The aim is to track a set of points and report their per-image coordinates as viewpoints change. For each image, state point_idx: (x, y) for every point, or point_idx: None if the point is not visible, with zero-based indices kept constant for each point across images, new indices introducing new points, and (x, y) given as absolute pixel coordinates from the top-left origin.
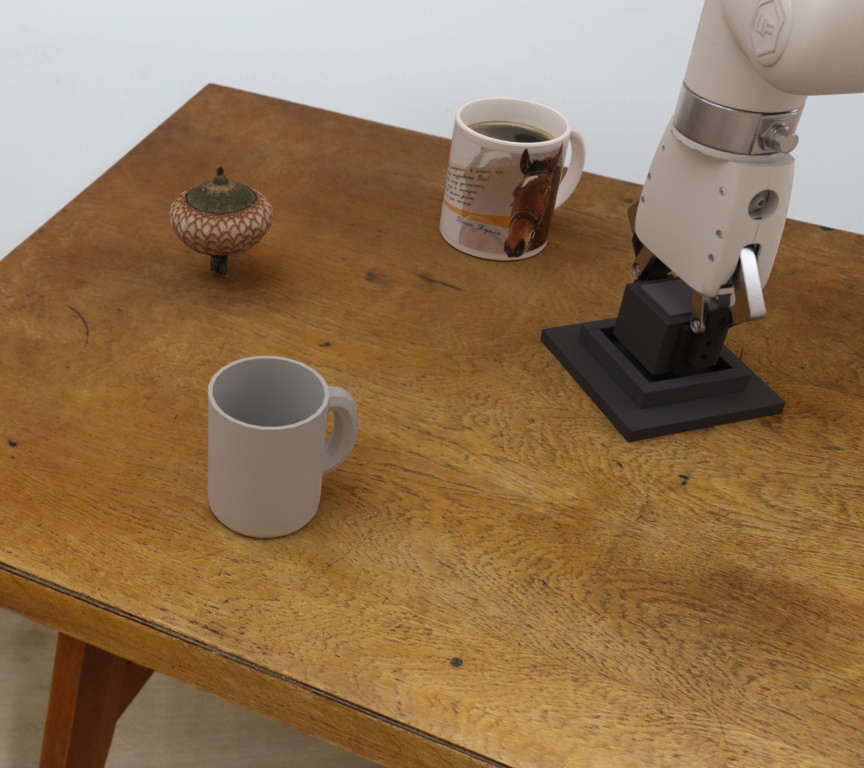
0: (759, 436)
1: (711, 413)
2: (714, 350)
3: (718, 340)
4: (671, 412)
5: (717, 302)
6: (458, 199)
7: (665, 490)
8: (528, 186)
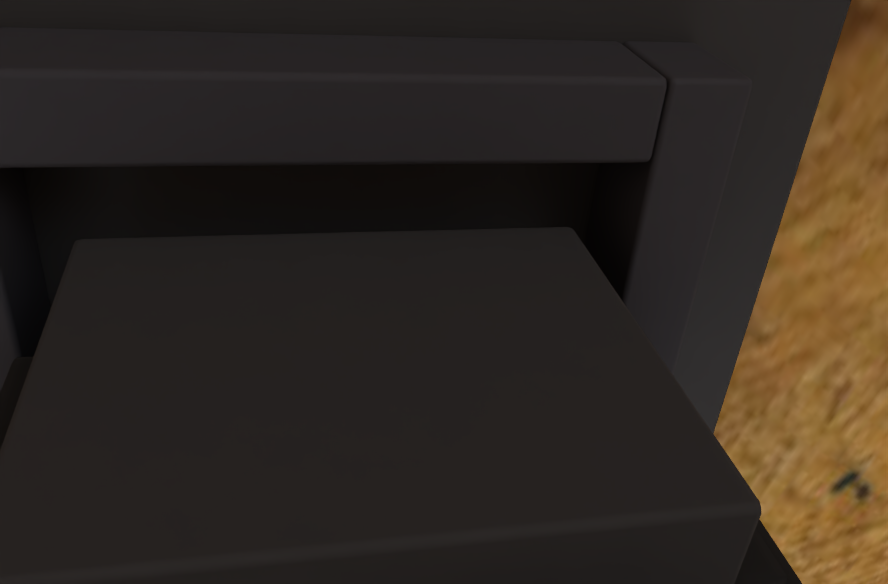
0: (877, 115)
1: (734, 318)
2: None
3: (778, 551)
4: None
5: (549, 552)
6: None
7: (850, 544)
8: None
